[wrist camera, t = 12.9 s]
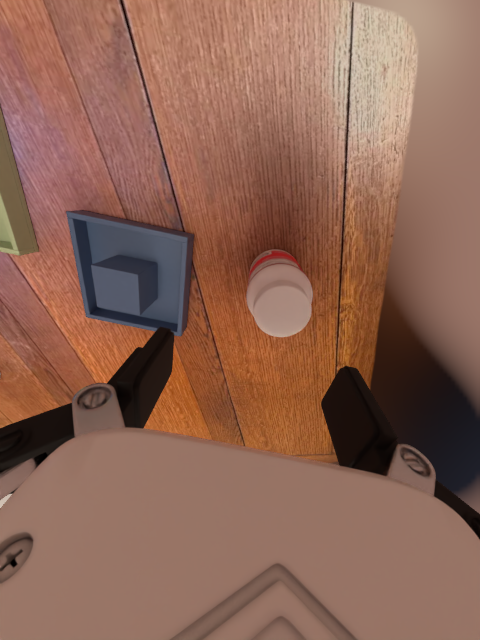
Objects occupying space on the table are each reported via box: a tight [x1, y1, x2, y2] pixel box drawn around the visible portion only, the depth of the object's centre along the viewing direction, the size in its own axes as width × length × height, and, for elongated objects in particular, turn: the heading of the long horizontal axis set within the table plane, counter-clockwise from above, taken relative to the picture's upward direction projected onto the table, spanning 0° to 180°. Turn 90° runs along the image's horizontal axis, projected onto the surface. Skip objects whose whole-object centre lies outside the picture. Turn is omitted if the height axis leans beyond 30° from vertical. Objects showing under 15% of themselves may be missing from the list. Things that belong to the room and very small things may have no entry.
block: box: [91, 255, 157, 315], centre depth 26 cm, size 5×5×5 cm
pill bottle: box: [247, 249, 313, 337], centre depth 22 cm, size 6×6×11 cm
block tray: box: [66, 210, 194, 336], centre depth 27 cm, size 13×13×3 cm
